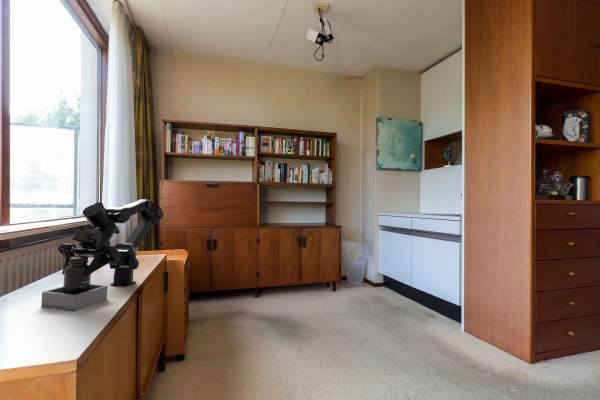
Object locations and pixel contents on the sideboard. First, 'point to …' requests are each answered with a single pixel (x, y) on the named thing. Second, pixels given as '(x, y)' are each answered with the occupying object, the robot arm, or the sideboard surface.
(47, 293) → the open box
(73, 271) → the supplement bottle
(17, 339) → the sideboard surface
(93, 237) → the robot arm
